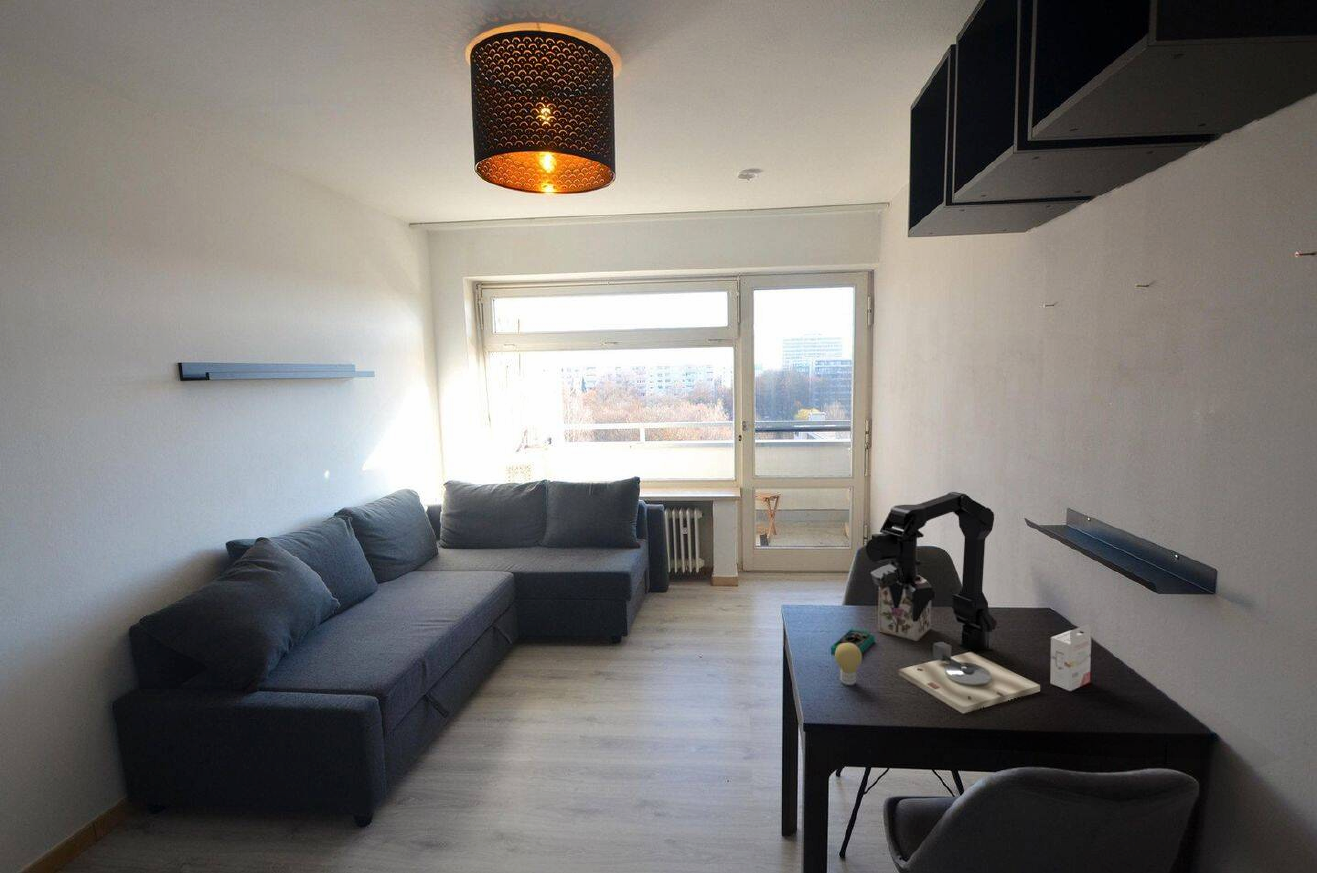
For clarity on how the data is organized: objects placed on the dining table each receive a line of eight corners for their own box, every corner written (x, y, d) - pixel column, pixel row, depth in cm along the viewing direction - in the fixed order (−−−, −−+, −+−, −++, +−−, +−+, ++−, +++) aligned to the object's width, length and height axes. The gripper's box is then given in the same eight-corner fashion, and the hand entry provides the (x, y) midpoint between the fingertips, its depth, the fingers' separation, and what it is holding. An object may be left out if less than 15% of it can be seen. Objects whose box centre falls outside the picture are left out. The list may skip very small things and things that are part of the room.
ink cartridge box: (1069, 674, 157) (1071, 617, 156) (1090, 683, 153) (1092, 624, 151) (1048, 683, 153) (1050, 624, 152) (1069, 692, 149) (1071, 631, 148)
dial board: (970, 657, 168) (970, 651, 168) (1040, 691, 150) (1040, 684, 149) (899, 675, 160) (899, 668, 159) (963, 713, 141) (963, 706, 141)
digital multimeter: (875, 642, 180) (875, 632, 180) (856, 662, 168) (856, 651, 168) (850, 636, 185) (850, 627, 184) (830, 655, 173) (829, 645, 173)
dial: (1000, 680, 152) (1000, 662, 151) (968, 689, 148) (968, 670, 148) (952, 656, 165) (952, 639, 165) (922, 663, 161) (922, 646, 161)
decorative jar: (877, 632, 186) (877, 572, 184) (892, 619, 195) (892, 562, 193) (918, 642, 178) (919, 580, 177) (932, 629, 187) (933, 570, 185)
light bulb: (863, 690, 153) (863, 650, 152) (836, 688, 154) (836, 649, 153) (859, 677, 159) (859, 639, 158) (833, 676, 160) (833, 638, 159)
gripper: (858, 548, 169) (859, 604, 171) (894, 569, 151) (894, 632, 153) (897, 544, 171) (897, 600, 172) (937, 565, 152) (937, 627, 154)
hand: (905, 614), depth 163 cm, fingers open, 9 cm apart
